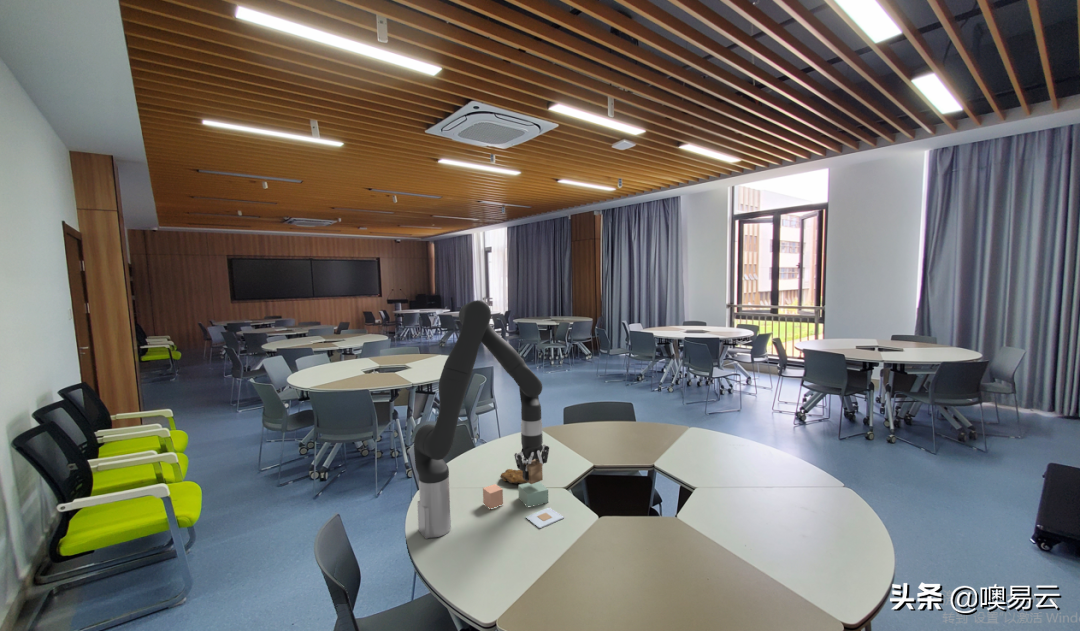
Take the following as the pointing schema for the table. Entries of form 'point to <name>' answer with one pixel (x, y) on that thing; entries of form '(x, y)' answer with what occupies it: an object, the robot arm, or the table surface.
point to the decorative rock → (513, 476)
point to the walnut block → (535, 472)
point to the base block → (533, 493)
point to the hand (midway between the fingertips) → (532, 477)
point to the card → (544, 517)
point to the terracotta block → (492, 496)
